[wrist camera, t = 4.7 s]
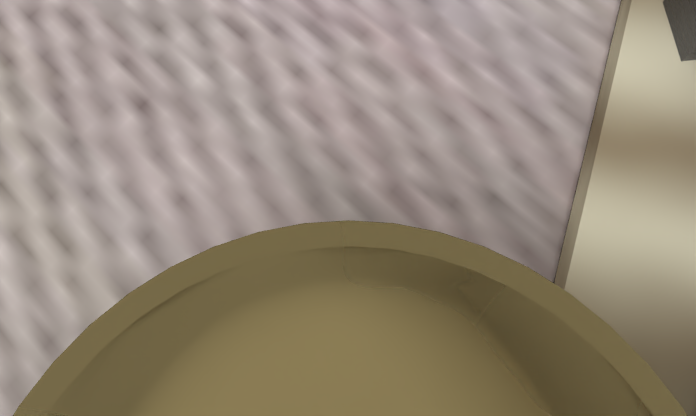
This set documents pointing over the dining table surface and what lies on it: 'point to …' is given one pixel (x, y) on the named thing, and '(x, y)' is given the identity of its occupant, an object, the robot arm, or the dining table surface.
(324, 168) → the dining table surface
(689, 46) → the shaft
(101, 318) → the cylinder
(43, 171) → the dining table surface
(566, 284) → the coupling plate
